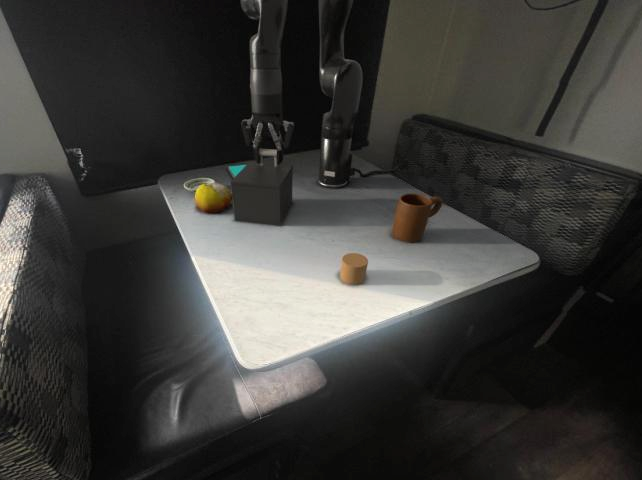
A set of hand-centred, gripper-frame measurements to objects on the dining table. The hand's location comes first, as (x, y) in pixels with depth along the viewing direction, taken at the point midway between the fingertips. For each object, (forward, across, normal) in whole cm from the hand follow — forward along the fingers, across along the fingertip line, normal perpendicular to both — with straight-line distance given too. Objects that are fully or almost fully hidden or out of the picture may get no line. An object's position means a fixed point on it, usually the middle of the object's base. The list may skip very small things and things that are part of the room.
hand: (268, 162), depth 91 cm
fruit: (+12, +15, +6) cm, 20 cm away
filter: (+11, -26, +32) cm, 43 cm away
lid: (+2, 0, +6) cm, 6 cm away
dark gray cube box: (+11, 0, +6) cm, 13 cm away
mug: (+12, -40, +10) cm, 43 cm away
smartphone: (+11, +15, -20) cm, 27 cm away
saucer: (+12, +24, -4) cm, 27 cm away
